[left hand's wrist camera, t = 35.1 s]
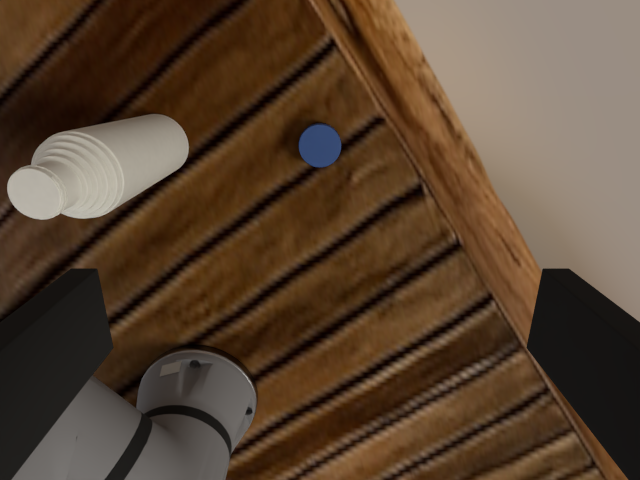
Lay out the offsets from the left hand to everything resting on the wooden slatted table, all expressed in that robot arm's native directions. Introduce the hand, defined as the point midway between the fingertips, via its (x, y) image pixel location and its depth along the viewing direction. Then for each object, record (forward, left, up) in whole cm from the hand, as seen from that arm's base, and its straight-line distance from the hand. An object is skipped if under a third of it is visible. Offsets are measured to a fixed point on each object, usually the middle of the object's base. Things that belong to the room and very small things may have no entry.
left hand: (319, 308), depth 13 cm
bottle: (-13, +11, -34) cm, 39 cm away
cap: (0, 0, -33) cm, 33 cm away
